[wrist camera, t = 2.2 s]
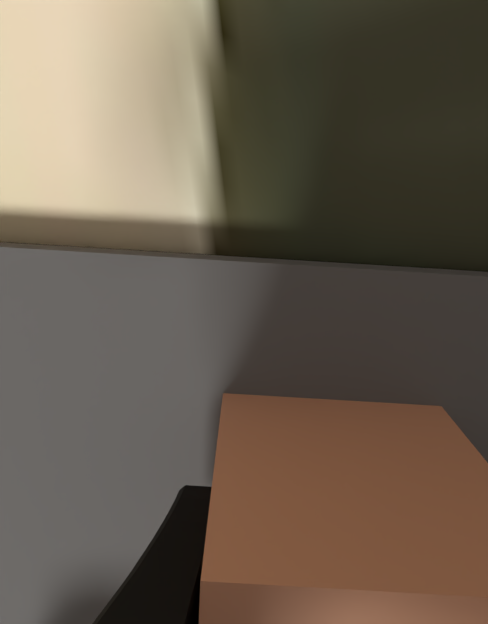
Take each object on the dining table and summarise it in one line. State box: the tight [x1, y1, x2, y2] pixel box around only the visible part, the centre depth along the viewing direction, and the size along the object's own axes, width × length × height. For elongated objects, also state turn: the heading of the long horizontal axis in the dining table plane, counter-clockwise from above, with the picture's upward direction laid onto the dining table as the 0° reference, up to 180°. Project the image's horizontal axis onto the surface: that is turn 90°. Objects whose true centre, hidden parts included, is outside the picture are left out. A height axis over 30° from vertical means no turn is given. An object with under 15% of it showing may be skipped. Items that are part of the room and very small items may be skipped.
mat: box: [0, 242, 488, 624], centre depth 11 cm, size 18×17×1 cm
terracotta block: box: [199, 393, 488, 624], centre depth 8 cm, size 4×4×4 cm
